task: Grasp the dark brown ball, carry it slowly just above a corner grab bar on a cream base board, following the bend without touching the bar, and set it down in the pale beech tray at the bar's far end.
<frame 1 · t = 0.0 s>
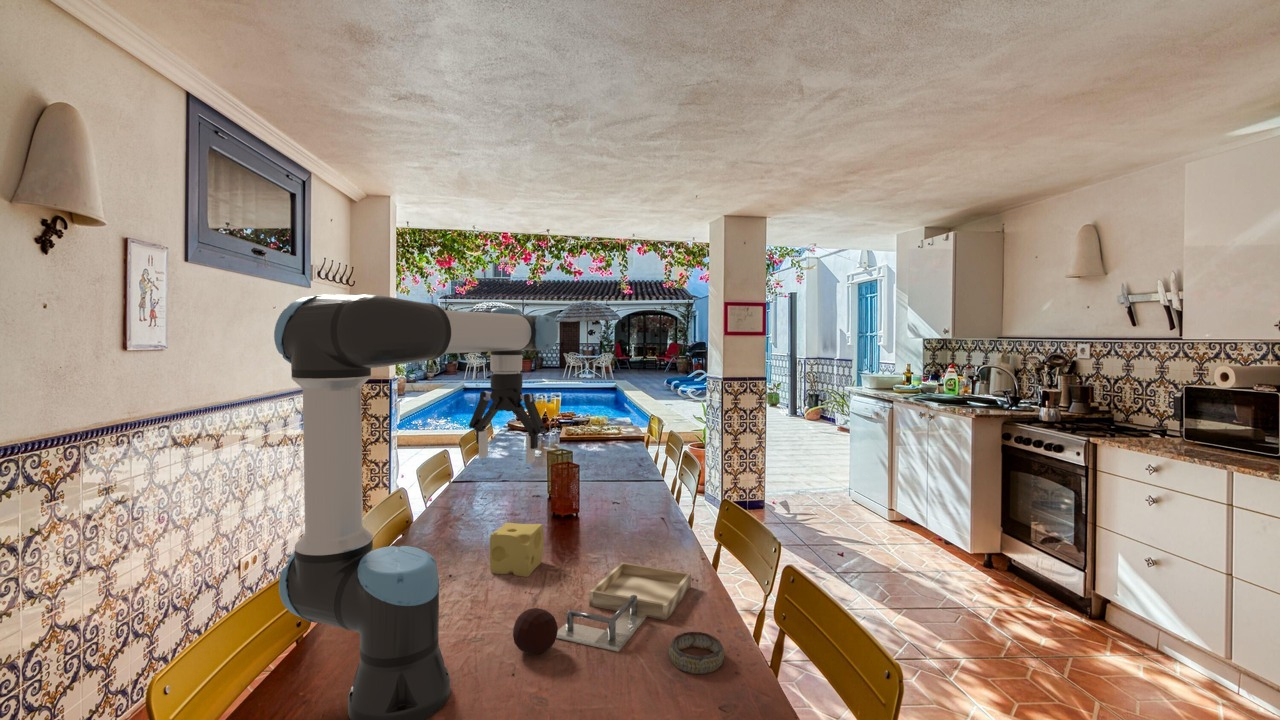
hand: (506, 459, 144), 28 cm above the table, fingers open, 13 cm apart
cheese: (516, 568, 149), on the table
tray: (642, 595, 133), on the table
decorative ring: (696, 662, 108), on the table
dark brown ball: (535, 651, 110), on the table
corner grab bar: (611, 642, 113), on the table
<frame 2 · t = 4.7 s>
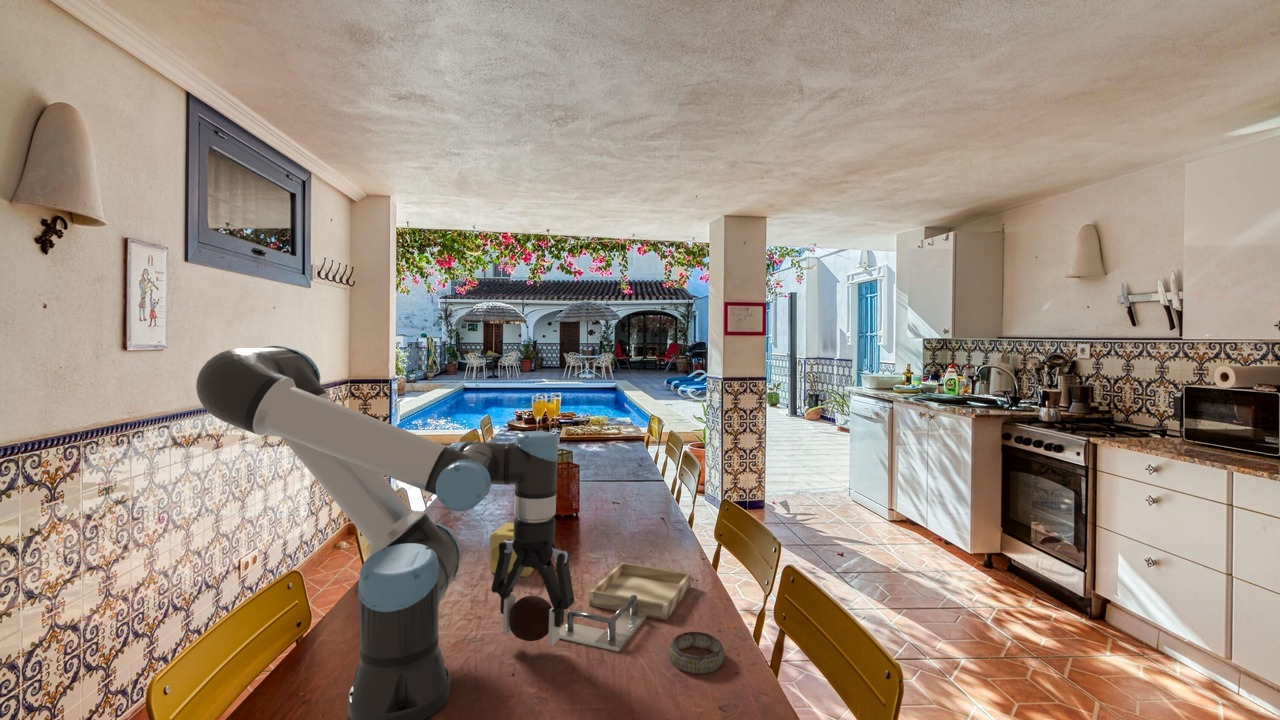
hand: (530, 636, 110), 3 cm above the table, fingers closed on dark brown ball, 9 cm apart
dark brown ball: (530, 639, 110), point 2 cm above the table, touching gripper
everything else where it was.
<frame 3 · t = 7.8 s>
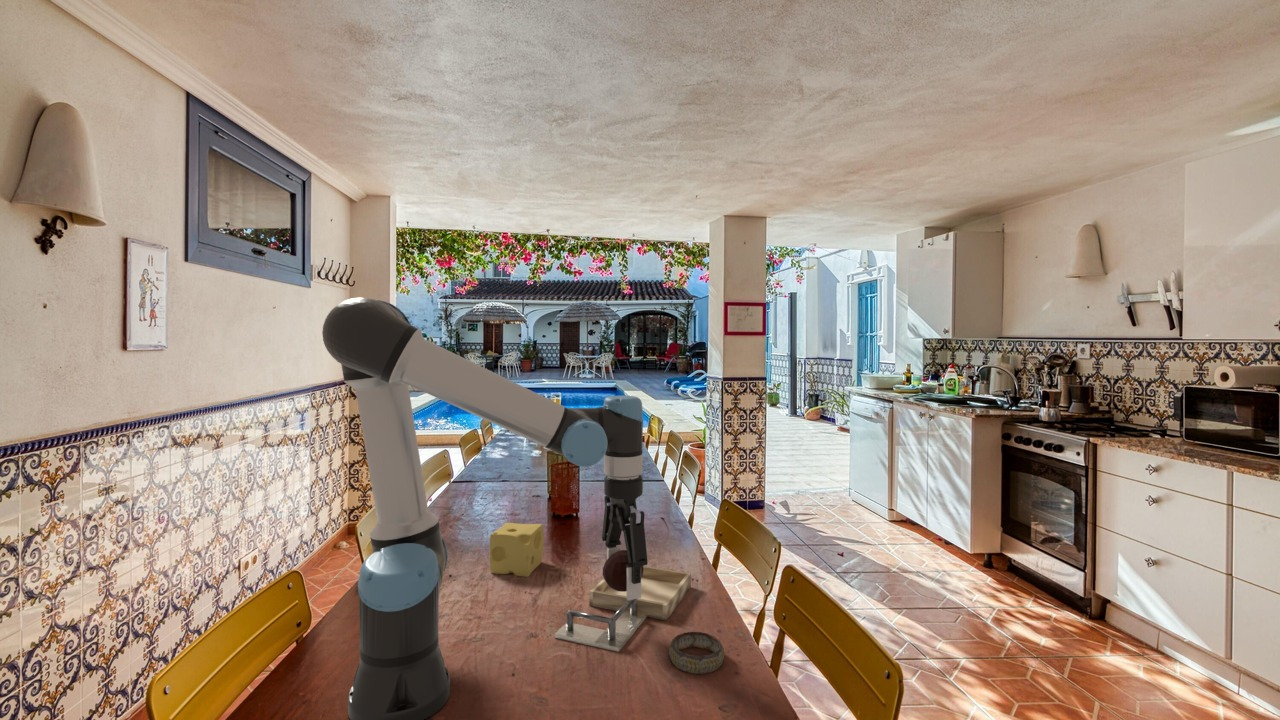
hand: (623, 588, 117), 9 cm above the table, fingers closed on dark brown ball, 9 cm apart
dark brown ball: (623, 590, 117), point 8 cm above the table, touching gripper
everything else where it was.
when the fingers open (3 cm above the table, at t = 11.0 s): dark brown ball drops 2 cm, resting on tray.
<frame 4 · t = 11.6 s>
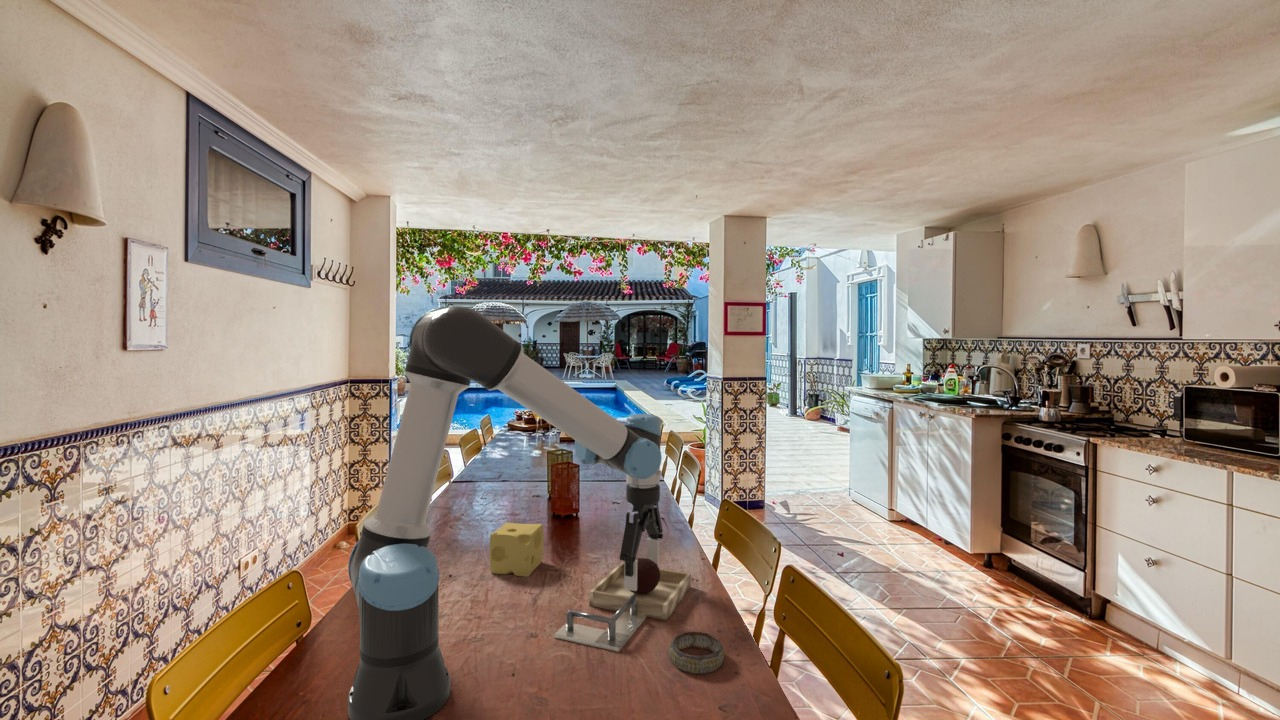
hand: (642, 577, 133), 4 cm above the table, fingers open, 13 cm apart
dark brown ball: (641, 593, 133), point 1 cm above the table, touching tray
everything else where it was.
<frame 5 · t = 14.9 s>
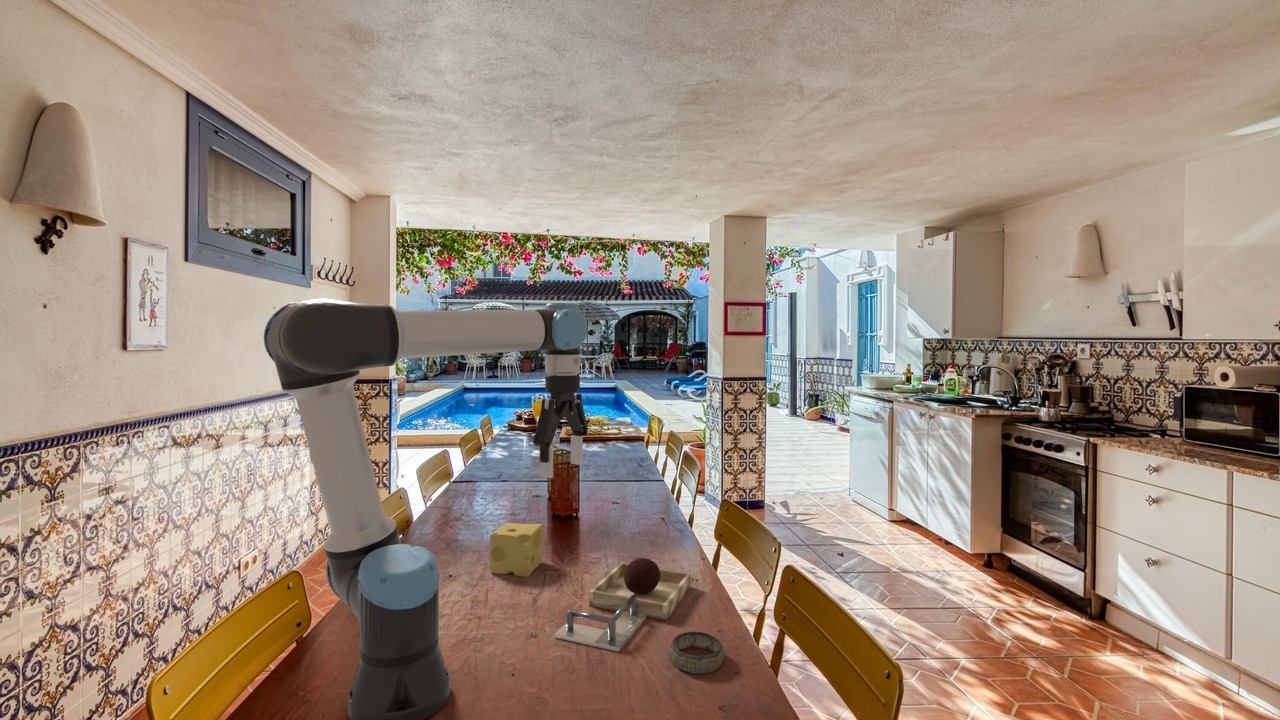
hand: (562, 470, 130), 29 cm above the table, fingers open, 13 cm apart
nothing on the table moved.
at the end: dark brown ball inside the target area on the tray (0.1 cm from its centre), point 0.6 cm above the tray's base; dark brown ball touching tray; the gripper is holding nothing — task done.
